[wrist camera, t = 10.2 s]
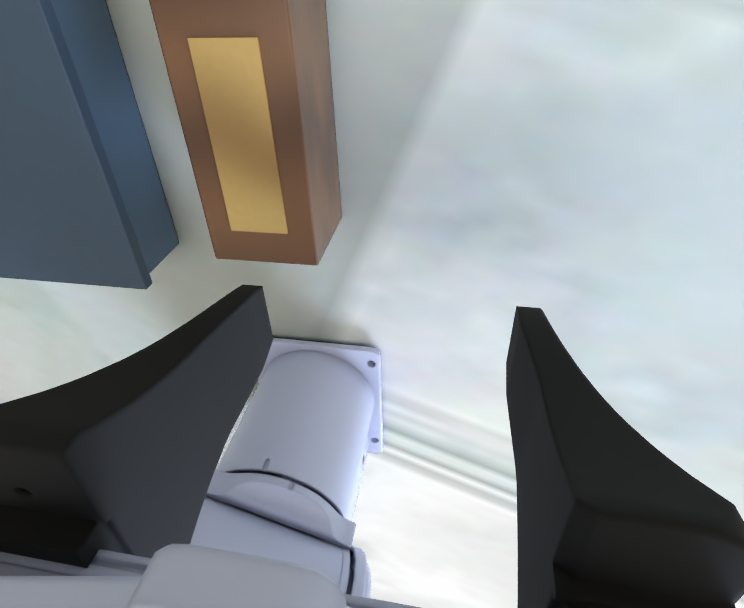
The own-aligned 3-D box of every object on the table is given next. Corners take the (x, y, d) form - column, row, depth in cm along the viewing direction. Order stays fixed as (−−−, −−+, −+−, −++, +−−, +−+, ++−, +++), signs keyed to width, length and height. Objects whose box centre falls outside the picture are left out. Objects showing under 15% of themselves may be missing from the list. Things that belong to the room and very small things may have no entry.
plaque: (342, 217, 24) (317, 267, 20) (253, 212, 25) (214, 260, 21) (323, -30, 18) (283, -21, 14) (207, -26, 19) (141, -17, 15)
